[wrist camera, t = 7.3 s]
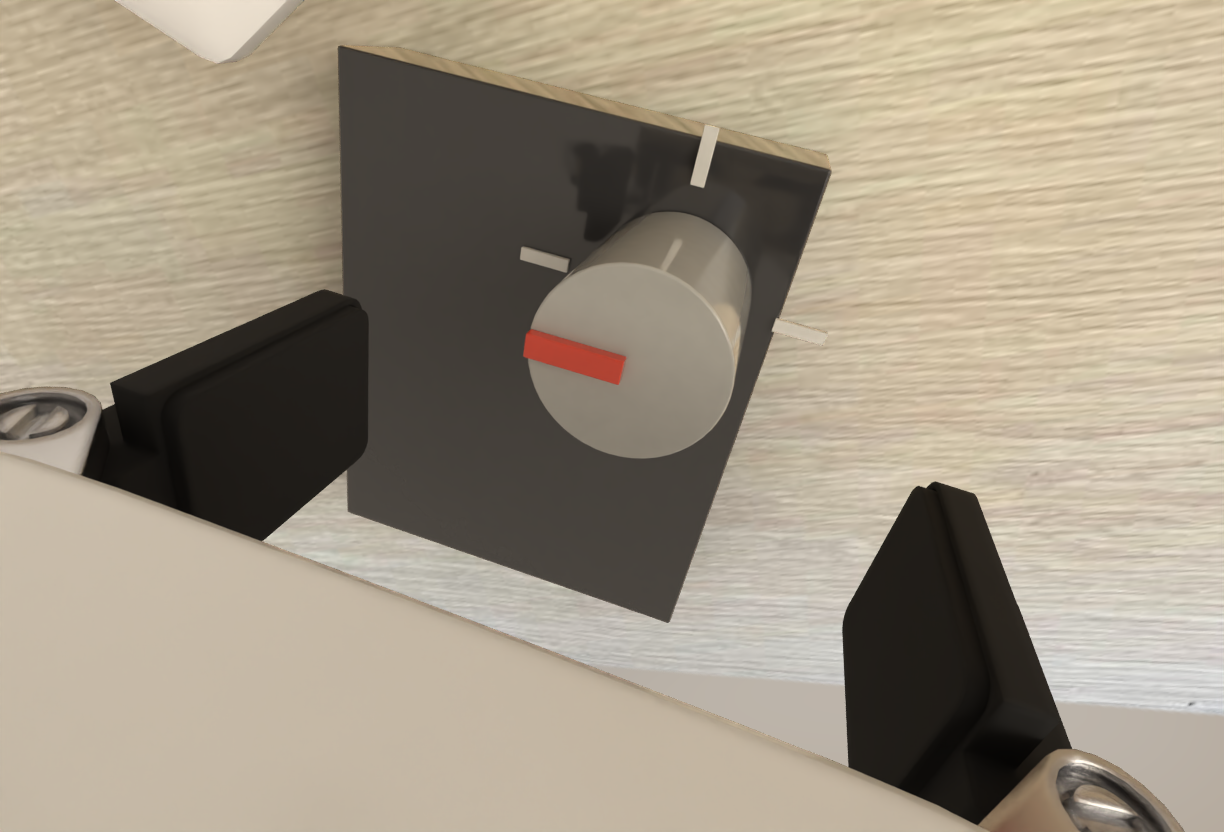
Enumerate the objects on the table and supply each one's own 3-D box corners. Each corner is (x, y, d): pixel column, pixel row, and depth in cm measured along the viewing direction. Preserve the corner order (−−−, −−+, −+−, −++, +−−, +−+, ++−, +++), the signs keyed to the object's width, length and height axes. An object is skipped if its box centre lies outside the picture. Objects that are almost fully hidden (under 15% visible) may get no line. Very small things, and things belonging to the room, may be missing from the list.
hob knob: (774, 235, 16) (763, 303, 12) (725, 386, 18) (700, 492, 14) (607, 191, 17) (535, 240, 12) (579, 344, 19) (510, 432, 14)
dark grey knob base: (713, 579, 26) (702, 639, 23) (389, 470, 28) (344, 515, 25) (880, 154, 17) (894, 171, 15) (398, 34, 19) (331, 30, 16)
